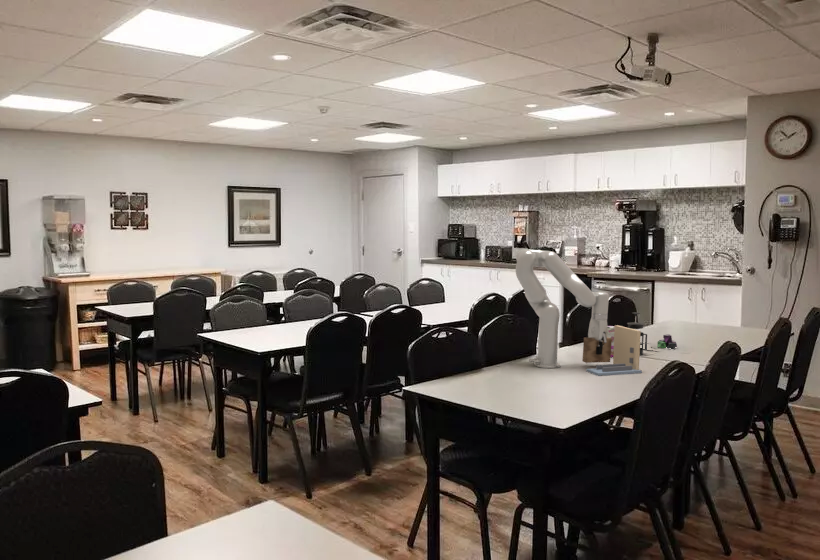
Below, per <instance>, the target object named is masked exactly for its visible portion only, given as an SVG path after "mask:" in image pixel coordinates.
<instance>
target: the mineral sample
mask: <svg viewBox="0 0 820 560" xmlns="http://www.w3.org/2000/svg"><path fill="white" fill-rule="evenodd" d="M662 338H663V339H659V340H658V341H657V348H658V347H661V348H660V349H664V348H666V347H667V348H671V349H674V350H675V349H676V348H675V347H677V348H678V345H677V342H676V341H675V339H674V340H673V336H672V335H671V334H669V333H668V334H663V337H662ZM671 349H670V350H671Z"/></svg>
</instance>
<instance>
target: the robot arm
mask: <svg viewBox="0 0 820 560" xmlns="http://www.w3.org/2000/svg"><path fill="white" fill-rule="evenodd" d="M515 256H516V257H515V260H516V264H515V275H516V278H517V281H519V284H520V285H521V287H522V289H523V290H524V296H525V298H526V299H527V301H528V304H529V305H530V306H531V308H532V309H533V310H534V312H535V314H536V315H537V316H538V317H539V318H538V319H539V320H538V321H539V323H538V333H537V335H538V336H537V337H538V339H537V355H536V356H535V357H534V358H533V357H532V358H528V363H534V366H535V367H538V368H544V369H557V368H561V364H560V363H559V362H558V349H559V348H558V345H559V344H558V341H559V322H560V316H561V315H560V314H561V313H560V309H559V307H558V306H557V305H556V304H555V303H553V302H552V301H551V300H550V298H549V296H548V295H547V290H546V289H545V287H544V286H543V284H542V283H541V281H540V280H539V279H538V277H537V275H536V273H535V271H534V267H536V268H537V267H538V268H545V269H546V270H547V271H548V273H550V274H551V275H552V277H553V278H554V279H555V280H556V281H557V282H558V283H559V285H561V286H562V287H564V288H565V289H567V290H568V291H569V292H570V293H572V295H573V297H575V300H576V303H578V304H579V305H581V306H583V307H585V308H591V318H590V321H589V326H588V332H587V337H591V338H595V340H597V346H596V354H597V355H600V354H602V349H603V345H604V344H605V343H606V342H607V341H606V339H607V326H608V313H609V302H610V301H609V299H610V298H609V297H610V295H609V293H608V292H605V291H592V290H591V289H590V288H589V287H588V286H587V284H585V283H584V281H583V280H581V278H579V276H578V275H577V274H576V273H574V271H573V270H572V269H571V268H570V267H569V266H568V265H567V263H566V262H565V261H563V259H562V258H561V257H560V256H559V255H558V254H557V252H555V251H553V250H552V251H551V250H541V249H540V250H537V249H527V248H523V249H520V250H519V251H518V252H517V253H516V255H515ZM601 339H602V340H601ZM600 341H601V342H600Z"/></svg>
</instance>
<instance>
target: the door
mask: <svg viewBox="0 0 820 560" xmlns="http://www.w3.org/2000/svg"><path fill="white" fill-rule="evenodd" d="M601 340H602V339H601ZM606 341H607V342H606V343H605V344H604V345H603V349H602V354H600V355H597V354H596V346H597V340H595V338H591V337H588V336H586V337H583V345H582V346H583V348H582V358H581V359H582V360H581V361H582V362H583V363H586V364H587V363H590V364H591V363H593V364H594V363H611V357H610V356H611V343H612V338H609V337H607V339H606ZM600 342H601V341H600Z"/></svg>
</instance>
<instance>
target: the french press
mask: <svg viewBox="0 0 820 560" xmlns="http://www.w3.org/2000/svg"><path fill="white" fill-rule="evenodd" d="M631 313H632V314H634V317H635V318H634V319H635V321H634V322H627V323H626V324H627V328H631V329H635V330H641V329H644V326H645V324H644V323H641V322H637V316H638V315H641V313H640V312H635V311H634V312H631ZM644 336H645V337H644ZM640 337H641V341H640V345H642V348H640V357H641V356H644V351H647V344H648V343H647V342H648V334H647V333H644V332H642V331H641V333H640ZM644 338H645V343H643V342H644ZM643 344H645V349H643Z"/></svg>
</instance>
